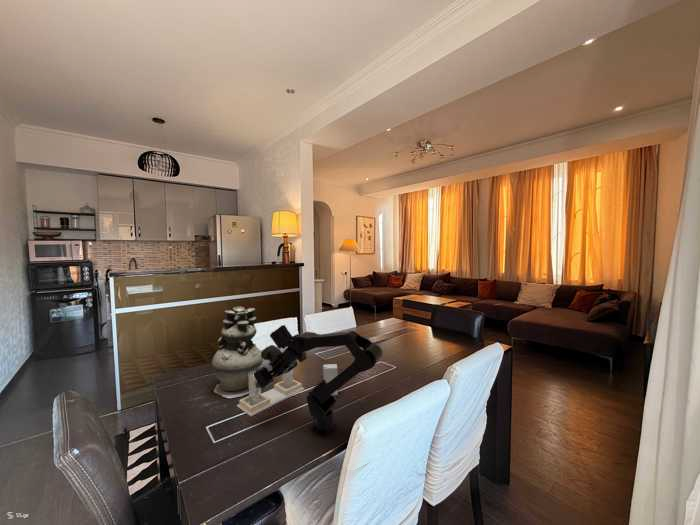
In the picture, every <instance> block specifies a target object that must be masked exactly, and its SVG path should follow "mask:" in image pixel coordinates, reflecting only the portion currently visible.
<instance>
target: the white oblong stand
mask: <svg viewBox="0 0 700 525" xmlns="http://www.w3.org/2000/svg"><path fill="white" fill-rule="evenodd" d="M302 385H303V383H301V382H299V381H297V380H295V379H294V369H293V370H291V371H290V372H288V373H285V374H282V380H281V381H279V382H277V383H274V385H273V388H272V389H269V390H267V391H265V392H263V393H262V392H261V402H259V403H257V404H255V405H253V406H251V405H249V395H248V396H245V397H243V398H240V399H239V404H237V405H236V406H237V408H238V409H240V410H241V411H242V412H244V413H245V414H247V415H248V416H249V417H253V416H255V415H256V414H259V413H261V412H263V411H264V410H266V409H269V408H270V407H273V406H275V405H277V404H278V403H280V402H283V401H285V400H286V399H288V398H290V397H292V396H294V395H296V394H298V393H300V392H303V391H304V390H305V388H304V387H303V386H302Z"/></svg>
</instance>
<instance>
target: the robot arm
mask: <svg viewBox="0 0 700 525" xmlns="http://www.w3.org/2000/svg"><path fill="white" fill-rule="evenodd" d="M269 337H270V339H271V340H272V341H273V343H274V344H275V345H274V344H270V345H268V346H265V348H264V349H263V350H262V351H261V357H262V358H263V361H268V362H269V363H268V365H269V366H270V367H271V370H270V371H269V370H268V368H267V367H266V366H263V367H261V368H259V370H257V371H256V372H255V373H254V377H255V378H256V380H257V383H256V385H255V386H256V388H261V389H265V388H266V387H268V386H270V385H271V384H272V383H274V378H277V377H281V376H283V374H285V373H288V372H290V371H291V370H293V371H294V369H296V368H297V367H298V361H299V363H303V362H304V361H306V360H307V352H309V351H311V350H314V349H319V348H330V347H331V348H332V347H342V346H343V347H344V346H345V347H346V348H347V349H348V350H349V352H350V354H351V355H352V357H353V358H354V359H353V361H352V363H350V364H349V365H348V366H347V367H346V368H344V369H342V370H341V371H340V372H339V373H338V375H337V376H336V377H334V378H333V379H332V380H331V381H329V382H326V381H325V379H324V378H323V379H322V380H321V381H320V382H319V383H317V384H316V385H315V386H314V387H313V388H311V389H310V390H309V391H308V392H307V394H308V395H307V396H306V403H307V406H308V410H309V412H310V415H311V417H313V424H312V425H311V426H310V430H312V431H313V432H315V433H317V434H318V435H320V436H322V437H325V436H327V435H328V434H329V433H330V432H332V431H333V430H334V429H336V428H337V425H336V424H334V412H333V411H332V410H333V409H334V408H335V407H336V404H337V399H336V398H335V397H334V395H333V393H334V392H335V391H336V390H338V391H339V389H341V388H342V387H343V386H344V385H346V384H347V383H348V382H350V381H351V380H352V379H353V378H354V377H356V376H357V375H358V374H361V373H364V372H367V371H369V370H371V369H373V367H375V366H376V364H378V362H379V361H380V360H381V359H382V357H383V351H382V350H383V349H382V348H381V347H380V346H379V345H377V344H376V343H374V342H372V341H371V340H370V339H368V338H366V337H364V336H362V335H360V334H359V333H357V331H354V330H349V331H342V332H332V333H321V334H320V333H317V332H314V331H311V332H310V331H305V332H303V333H298V334H294V335H292V334H291V333H290V331H289V329H288V327H287V326H286V325H285V324H283V325H280V326H279V327H278V328H277V329H274V331H272V332H271V333H270V335H269ZM281 349H282V350H283V351H281Z"/></svg>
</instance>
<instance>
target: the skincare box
mask: <svg viewBox="0 0 700 525" xmlns="http://www.w3.org/2000/svg"><path fill="white" fill-rule="evenodd" d="M322 369H323V370H322V371H323V373H322V374H323V380H324V379H325V381H326V382H329V381H331V380H332V379H333V378H334V377H336V376H337V375H338V374H339V373H338V364H336V363H332V364H329V363H328V364H323V366H322ZM338 391H339V389H338V390H336V391H335V392H334V393H333V395H332V396H338V395H339V394H338V393H339V392H338Z"/></svg>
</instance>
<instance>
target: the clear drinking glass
mask: <svg viewBox="0 0 700 525" xmlns="http://www.w3.org/2000/svg"><path fill="white" fill-rule="evenodd" d="M255 372H256V371H252V372H250V373H249V374H248V378H249V393H248V396H249V405H251V406H253V405H255V404H257V403H259V402H261V393H262V391H261V390H262V387H261V388H256V386H255V385H256V383H257V380H256V378H255V377H254V373H255Z"/></svg>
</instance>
